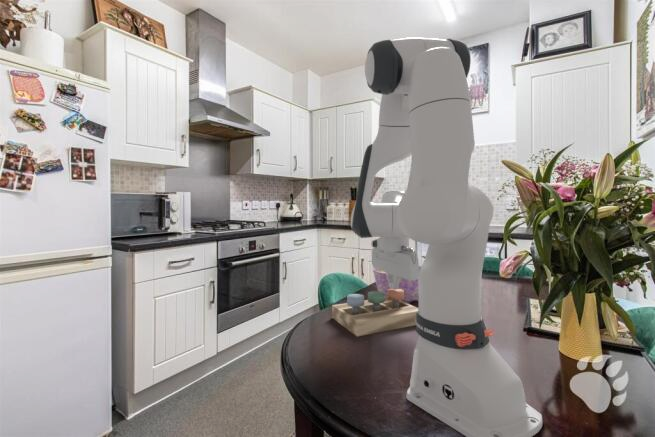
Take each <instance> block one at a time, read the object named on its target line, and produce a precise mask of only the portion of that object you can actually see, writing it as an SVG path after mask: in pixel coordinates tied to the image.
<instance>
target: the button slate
mask: <svg viewBox="0 0 655 437" xmlns="http://www.w3.org/2000/svg"><path fill="white" fill-rule="evenodd" d="M364 300H365V295H364V294H360V293H349V294H347V296H346V303H347V305H348V306H352V315H358V314H359V307H361V306H363V305H364Z"/></svg>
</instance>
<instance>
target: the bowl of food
mask: <svg viewBox="0 0 655 437" xmlns="http://www.w3.org/2000/svg"><path fill="white" fill-rule="evenodd" d="M421 266H422V265H421ZM421 266H420V265H419V271H420V268H421ZM372 273H373V277H374V281H375V283H376V284H375V285H376V289H377V291H380V292H384V293H385V297H387V290H388V289H392V288H390V287H389V282H388V279H387V276H386V272H383V271H380V270H377V269H375V268H373V267H372ZM399 289H402V290H404V299H403V300H401V301H403V302H405V303H408V304H411V303H412V302H413V301H416V300H418V279H417V280H412V281H408V280H405V279H403V278H402V279H401V281H400V283H399Z"/></svg>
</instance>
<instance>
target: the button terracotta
mask: <svg viewBox="0 0 655 437" xmlns="http://www.w3.org/2000/svg"><path fill="white" fill-rule="evenodd" d="M387 298H388V299H389V300H392V308H393V309H394V308H399V300H403V299H404V290H402V289H396V290H395V289H388V290H387Z"/></svg>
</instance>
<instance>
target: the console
mask: <svg viewBox="0 0 655 437" xmlns="http://www.w3.org/2000/svg"><path fill="white" fill-rule="evenodd" d="M331 311H332V312H331V313H332V315H331V316H332V319H334V321H335V322H337V323H338V324H340V325H341V326H342V327H344V328H345V329H346V330H348V331H349V332H350V333H351V334H353V335H354V336H355V337H361V336H362V337H363V336H367V335H371V334H377V333H382V332H388V331H392V330H398V329H403V328H407V327H408V328H409V327H413V326H416V322H415V321H416V313H417V311H418V306H415V305H412V304H411V303H405V302H403V301H401V300H399V308H394V309H393V308H392V300H389V299H388V298H387V297H385V302H384V303H380V311H376V312H373V303H370V302H368V299H366V300H365V299H364V305H363V306H361V307H359V314H358V315H352V306H348V305H347V302H345V303H339V304H337V303H336V304H331Z"/></svg>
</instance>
